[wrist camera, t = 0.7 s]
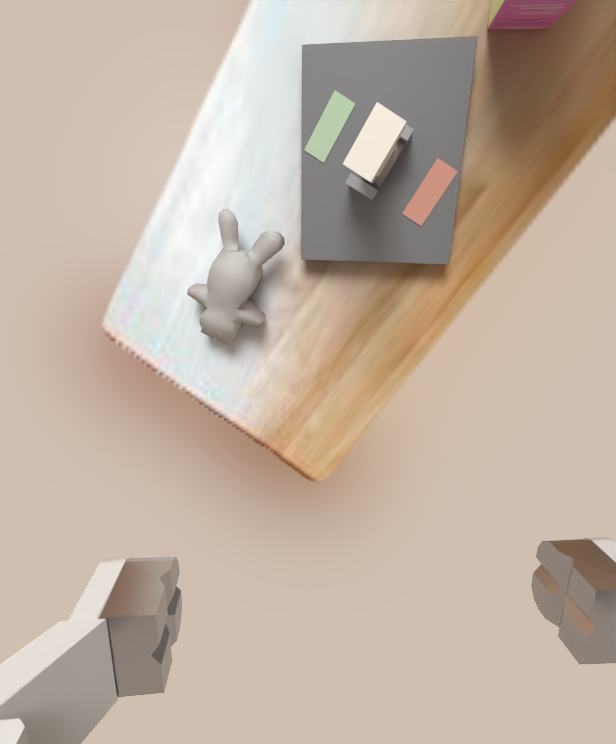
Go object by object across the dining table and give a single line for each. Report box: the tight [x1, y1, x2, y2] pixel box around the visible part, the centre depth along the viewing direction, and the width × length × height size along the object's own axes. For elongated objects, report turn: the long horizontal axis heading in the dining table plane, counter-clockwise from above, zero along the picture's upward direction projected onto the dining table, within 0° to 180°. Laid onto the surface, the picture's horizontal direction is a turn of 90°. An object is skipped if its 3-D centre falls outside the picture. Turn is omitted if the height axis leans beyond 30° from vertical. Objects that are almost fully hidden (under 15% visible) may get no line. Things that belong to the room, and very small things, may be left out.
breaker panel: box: [301, 36, 478, 264], centre depth 43 cm, size 20×16×6 cm
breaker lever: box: [343, 102, 407, 186], centre depth 37 cm, size 3×4×14 cm
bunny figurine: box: [188, 209, 285, 345], centre depth 51 cm, size 10×5×15 cm
